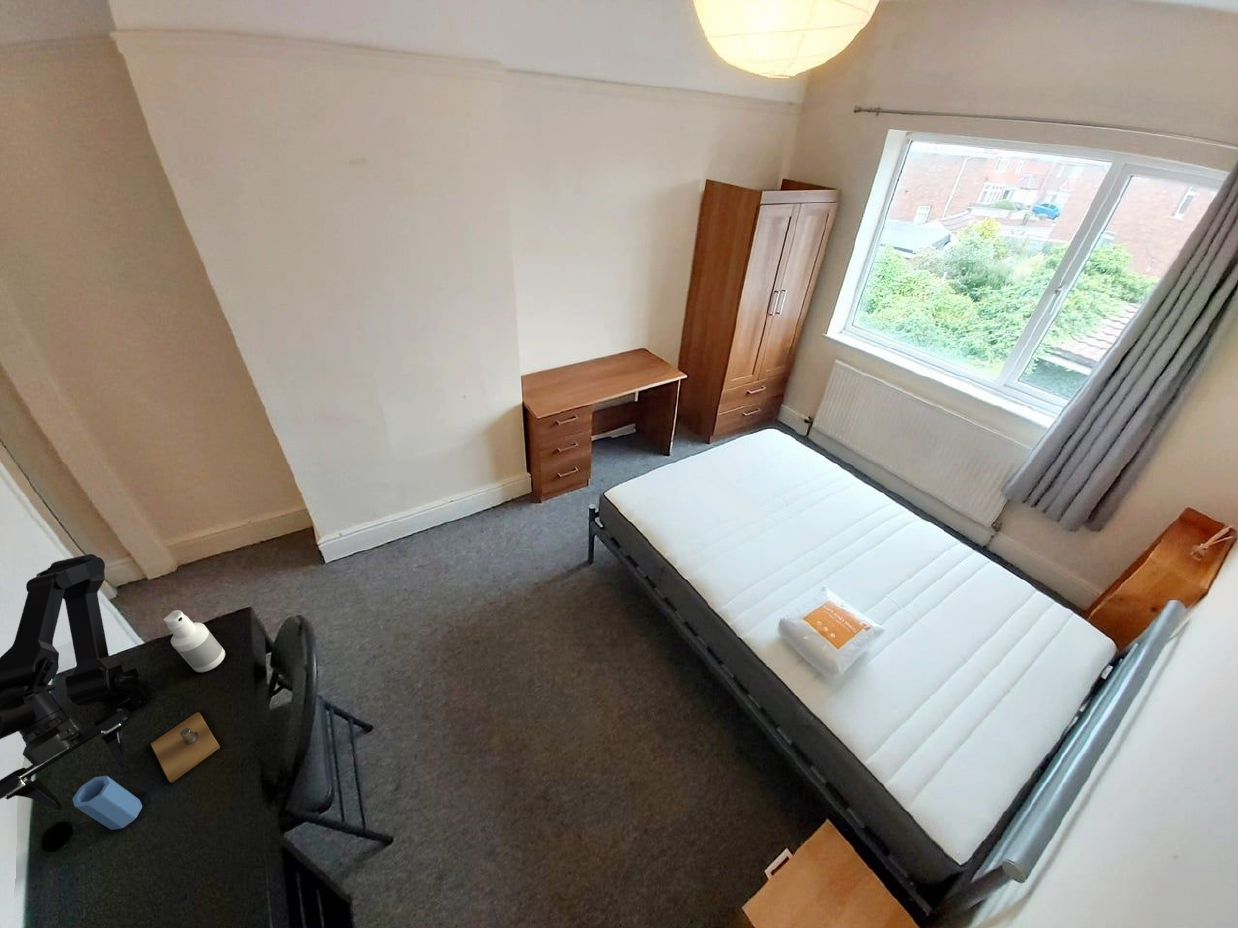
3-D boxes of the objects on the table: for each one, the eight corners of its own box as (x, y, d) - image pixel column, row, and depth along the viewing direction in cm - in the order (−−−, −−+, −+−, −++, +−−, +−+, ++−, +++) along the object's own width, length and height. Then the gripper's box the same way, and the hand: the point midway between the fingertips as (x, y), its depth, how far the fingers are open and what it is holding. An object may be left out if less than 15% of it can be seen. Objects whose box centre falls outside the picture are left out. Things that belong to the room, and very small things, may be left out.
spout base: (153, 746, 109) (142, 736, 106) (200, 714, 115) (191, 704, 112) (171, 783, 103) (160, 774, 100) (220, 747, 109) (211, 737, 106)
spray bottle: (209, 675, 122) (171, 630, 112) (186, 670, 124) (146, 625, 113) (232, 651, 128) (197, 606, 117) (210, 646, 129) (173, 601, 119)
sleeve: (106, 816, 98) (70, 793, 92) (137, 794, 101) (104, 770, 95) (113, 835, 95) (76, 812, 89) (144, 811, 99) (111, 788, 92)
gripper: (-54, 769, 81) (6, 844, 82) (94, 684, 93) (145, 751, 94) (-23, 760, 89) (30, 828, 90) (108, 683, 101) (155, 744, 102)
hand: (92, 786), depth 94 cm, fingers open, 9 cm apart
